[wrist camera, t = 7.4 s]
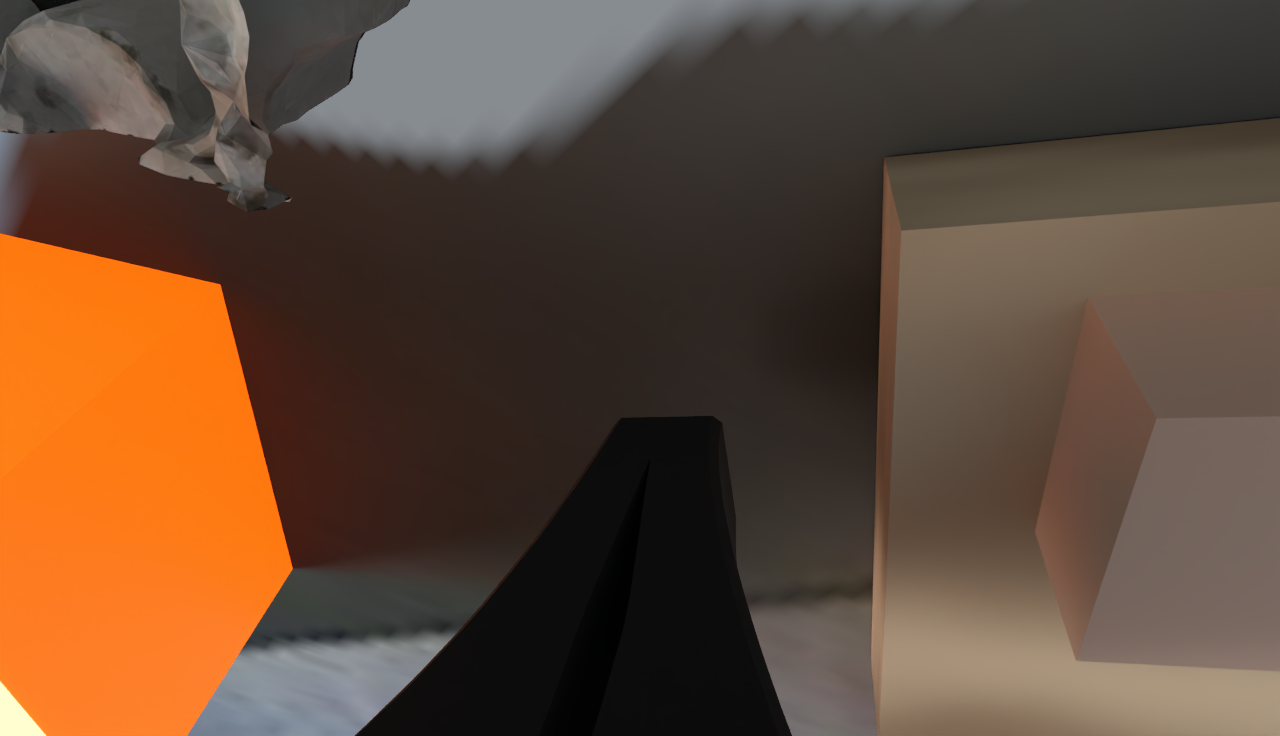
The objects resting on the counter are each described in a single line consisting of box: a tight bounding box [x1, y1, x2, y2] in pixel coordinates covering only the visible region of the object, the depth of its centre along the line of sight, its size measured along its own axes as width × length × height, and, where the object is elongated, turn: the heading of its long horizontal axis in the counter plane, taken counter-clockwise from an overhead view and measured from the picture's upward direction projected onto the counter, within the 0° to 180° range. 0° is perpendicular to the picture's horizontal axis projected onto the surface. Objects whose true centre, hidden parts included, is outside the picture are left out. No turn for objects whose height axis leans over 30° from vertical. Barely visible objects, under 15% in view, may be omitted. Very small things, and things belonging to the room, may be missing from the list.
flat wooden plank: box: [871, 118, 1280, 736], centre depth 11 cm, size 12×10×2 cm
